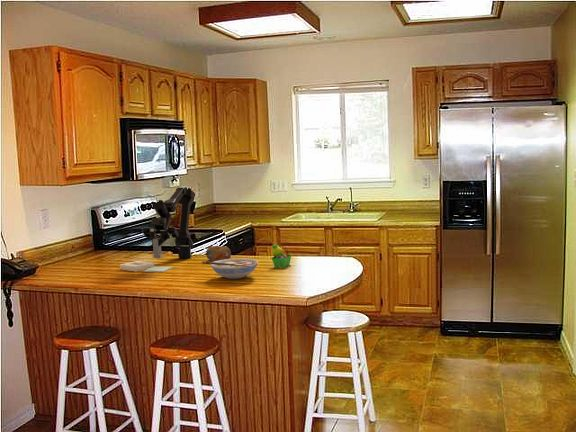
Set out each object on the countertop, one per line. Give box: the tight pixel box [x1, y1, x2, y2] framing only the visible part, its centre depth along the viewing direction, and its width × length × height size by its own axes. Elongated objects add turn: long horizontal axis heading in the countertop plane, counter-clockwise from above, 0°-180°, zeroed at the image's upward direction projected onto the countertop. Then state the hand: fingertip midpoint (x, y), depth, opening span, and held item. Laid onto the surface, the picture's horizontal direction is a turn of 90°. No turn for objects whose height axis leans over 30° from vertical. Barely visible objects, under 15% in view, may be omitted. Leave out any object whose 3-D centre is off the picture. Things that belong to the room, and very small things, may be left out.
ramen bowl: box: [202, 257, 259, 280], centre depth 298 cm, size 25×23×8 cm
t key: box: [151, 237, 165, 259], centre depth 324 cm, size 3×6×10 cm, turn 75°
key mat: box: [143, 265, 174, 273], centre depth 325 cm, size 11×11×1 cm
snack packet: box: [205, 245, 232, 262], centre depth 344 cm, size 15×3×8 cm, turn 62°
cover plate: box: [119, 260, 155, 272], centre depth 332 cm, size 12×13×2 cm
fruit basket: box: [271, 244, 292, 269], centre depth 322 cm, size 11×9×11 cm
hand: (155, 245), depth 323 cm, fingers closed on t key, 3 cm apart
